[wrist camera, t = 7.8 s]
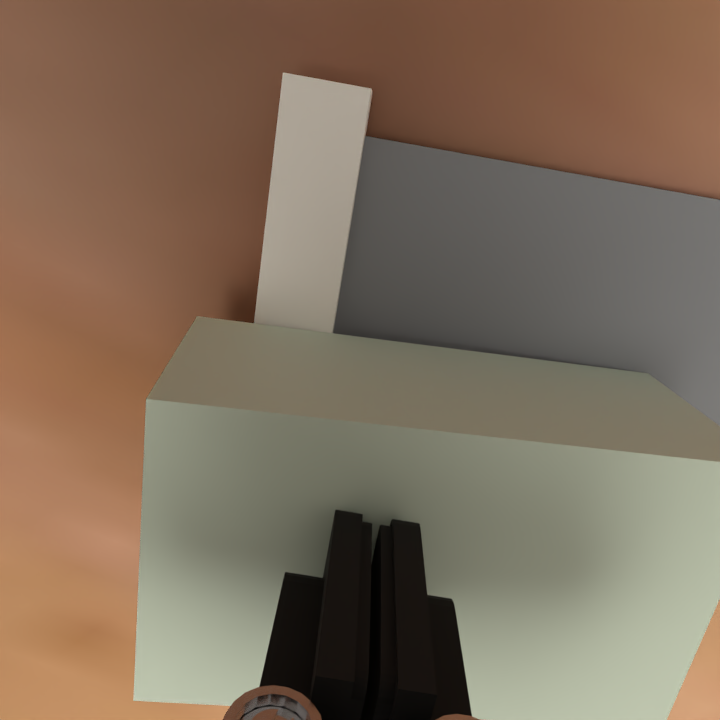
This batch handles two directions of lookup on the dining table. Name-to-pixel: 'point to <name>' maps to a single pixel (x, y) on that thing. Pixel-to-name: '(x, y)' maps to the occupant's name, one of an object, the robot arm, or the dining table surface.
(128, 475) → the dining table surface
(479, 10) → the dining table surface
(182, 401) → the sage block
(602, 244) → the mat
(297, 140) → the rail
